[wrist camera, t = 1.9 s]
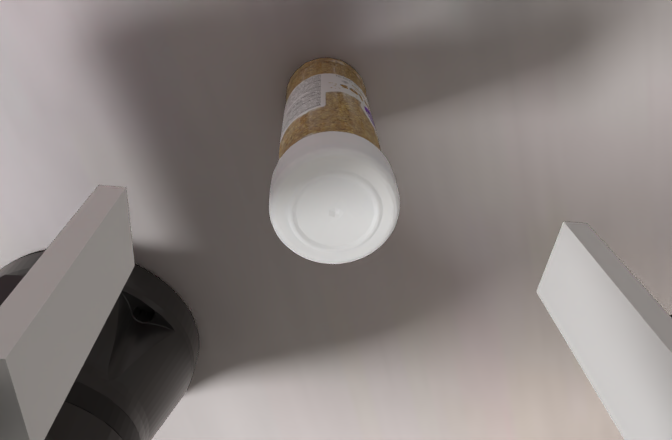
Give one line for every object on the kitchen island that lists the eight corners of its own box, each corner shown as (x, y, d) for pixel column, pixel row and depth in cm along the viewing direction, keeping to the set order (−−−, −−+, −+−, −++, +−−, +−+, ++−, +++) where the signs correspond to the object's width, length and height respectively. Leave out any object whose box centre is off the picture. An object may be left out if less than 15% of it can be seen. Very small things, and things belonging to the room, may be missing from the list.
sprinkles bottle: (380, 104, 29) (427, 224, 18) (317, 149, 30) (322, 290, 19) (333, 37, 27) (351, 123, 16) (267, 88, 28) (238, 203, 17)
